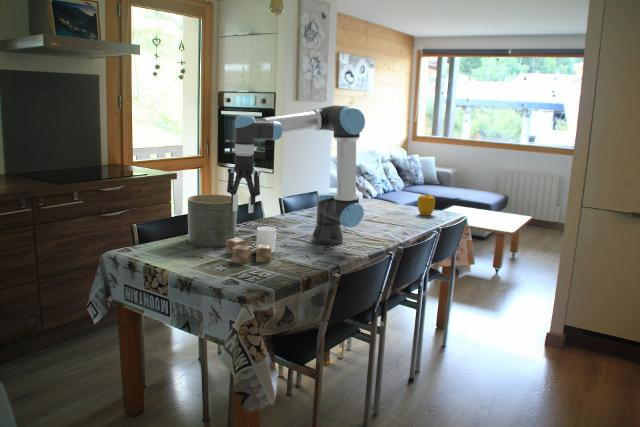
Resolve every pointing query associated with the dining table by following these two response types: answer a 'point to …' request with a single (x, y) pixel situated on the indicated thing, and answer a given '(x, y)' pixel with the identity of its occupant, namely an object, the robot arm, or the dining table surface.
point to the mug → (266, 237)
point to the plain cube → (241, 254)
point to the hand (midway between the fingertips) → (243, 211)
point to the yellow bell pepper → (426, 204)
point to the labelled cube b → (263, 253)
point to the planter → (211, 220)
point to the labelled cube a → (233, 244)
